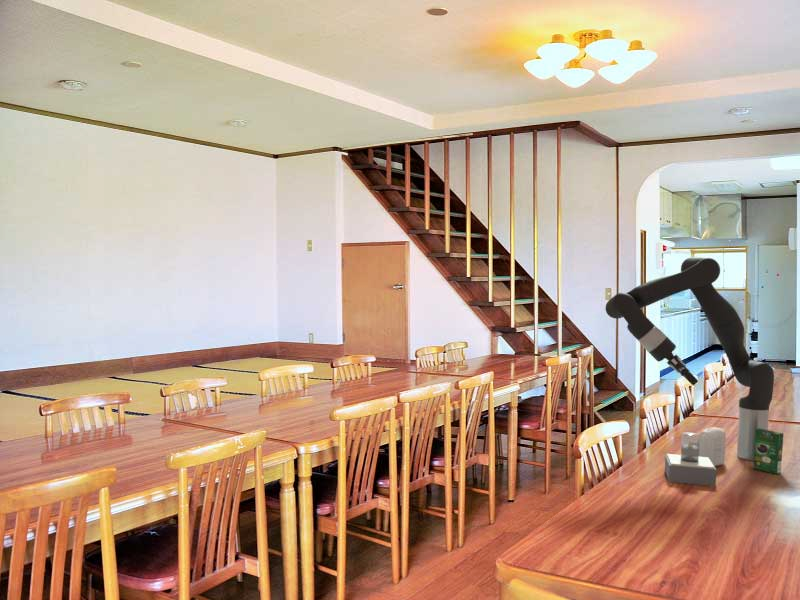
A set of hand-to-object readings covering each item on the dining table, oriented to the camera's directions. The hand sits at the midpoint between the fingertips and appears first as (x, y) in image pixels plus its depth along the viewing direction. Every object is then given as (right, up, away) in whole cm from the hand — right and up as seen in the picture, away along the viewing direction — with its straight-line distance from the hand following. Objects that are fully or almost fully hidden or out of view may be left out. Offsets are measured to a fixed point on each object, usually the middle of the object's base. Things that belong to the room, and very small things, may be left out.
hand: (694, 381), depth 220 cm
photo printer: (+10, -29, +10) cm, 32 cm away
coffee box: (+25, -29, +3) cm, 39 cm away
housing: (-4, -23, -6) cm, 25 cm away
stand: (-4, -29, -6) cm, 30 cm away
